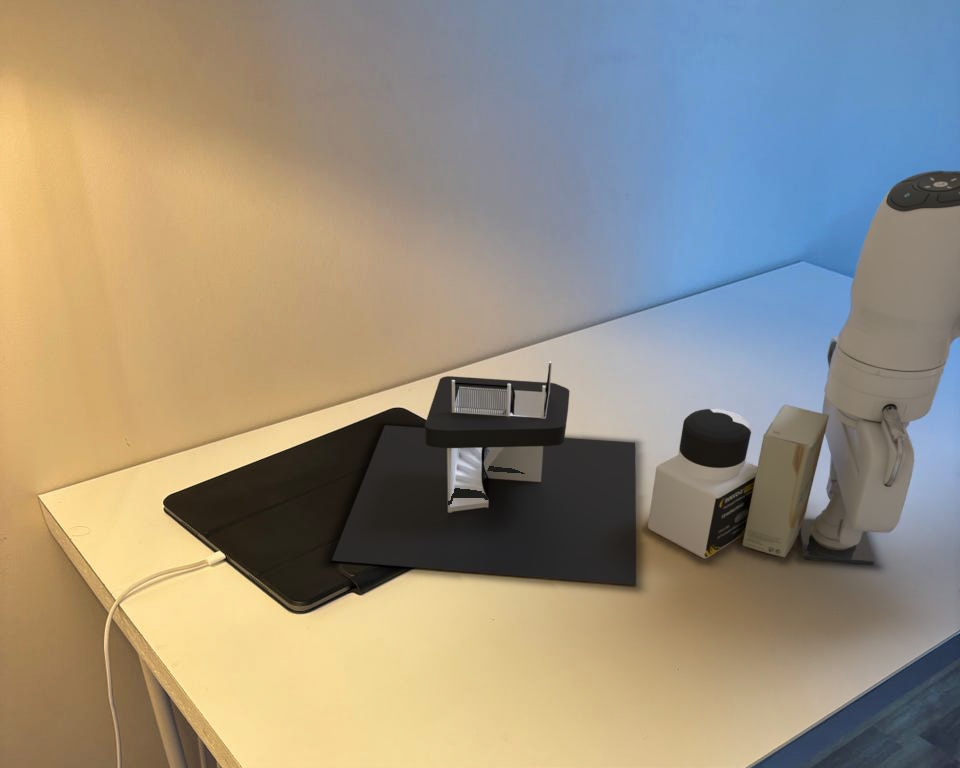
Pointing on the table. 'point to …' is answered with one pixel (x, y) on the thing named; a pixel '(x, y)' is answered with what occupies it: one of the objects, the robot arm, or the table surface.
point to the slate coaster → (817, 552)
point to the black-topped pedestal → (497, 490)
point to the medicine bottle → (705, 484)
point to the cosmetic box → (784, 479)
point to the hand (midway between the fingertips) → (841, 518)
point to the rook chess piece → (830, 522)
